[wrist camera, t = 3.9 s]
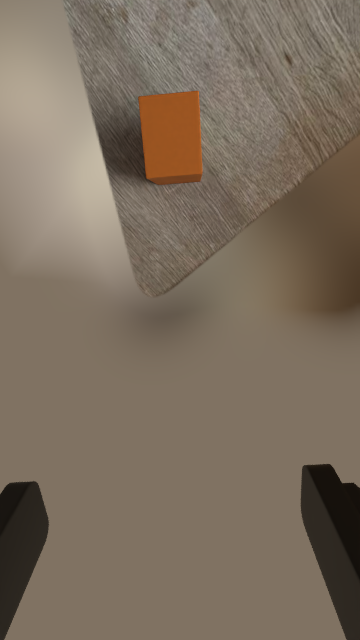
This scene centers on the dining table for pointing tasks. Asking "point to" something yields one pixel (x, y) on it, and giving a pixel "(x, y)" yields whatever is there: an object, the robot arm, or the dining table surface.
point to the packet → (171, 137)
